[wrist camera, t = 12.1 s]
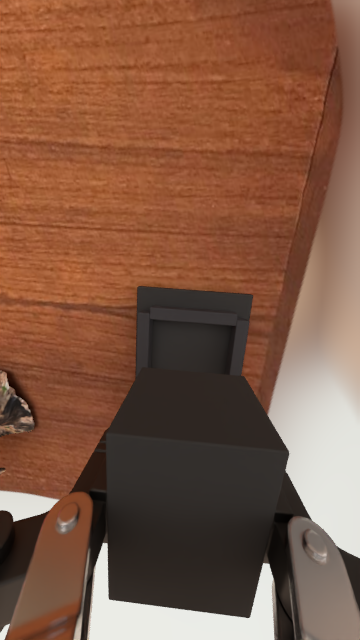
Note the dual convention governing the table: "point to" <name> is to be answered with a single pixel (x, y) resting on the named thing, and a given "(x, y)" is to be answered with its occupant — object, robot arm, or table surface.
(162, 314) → the base pad
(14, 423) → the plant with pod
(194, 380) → the small black block
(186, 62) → the table surface
